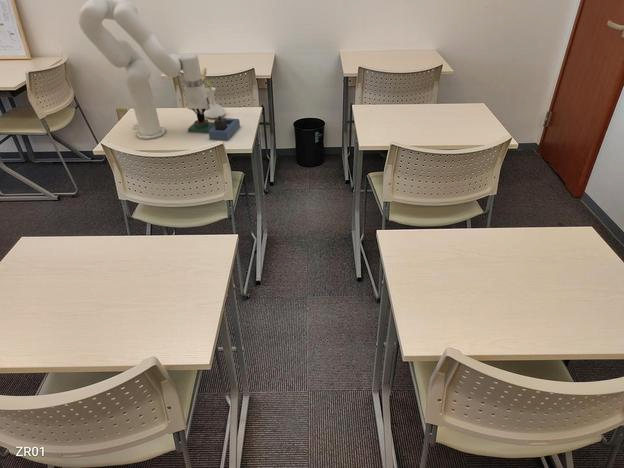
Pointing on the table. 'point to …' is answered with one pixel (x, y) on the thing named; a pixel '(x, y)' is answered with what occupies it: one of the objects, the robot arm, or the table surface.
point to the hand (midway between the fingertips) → (201, 121)
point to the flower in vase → (212, 100)
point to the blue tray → (228, 132)
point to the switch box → (201, 127)
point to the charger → (220, 123)
